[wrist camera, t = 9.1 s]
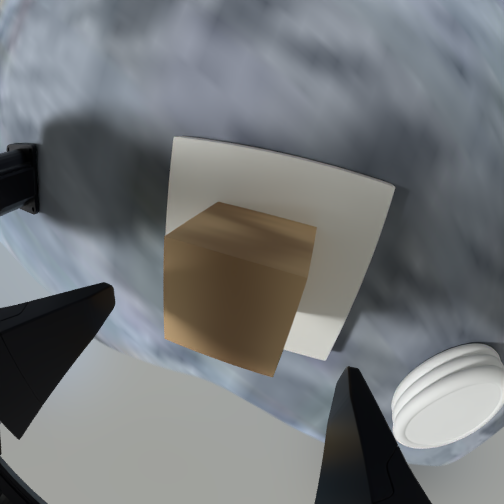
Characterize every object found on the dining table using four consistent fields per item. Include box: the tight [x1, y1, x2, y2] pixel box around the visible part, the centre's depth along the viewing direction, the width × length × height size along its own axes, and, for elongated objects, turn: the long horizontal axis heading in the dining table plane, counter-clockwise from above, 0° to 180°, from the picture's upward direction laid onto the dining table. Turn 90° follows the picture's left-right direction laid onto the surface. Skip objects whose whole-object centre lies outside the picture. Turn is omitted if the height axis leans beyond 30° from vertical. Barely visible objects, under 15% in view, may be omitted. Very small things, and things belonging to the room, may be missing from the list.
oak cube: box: [164, 202, 317, 377], centre depth 12 cm, size 5×5×5 cm
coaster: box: [391, 343, 504, 449], centre depth 14 cm, size 10×10×4 cm
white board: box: [166, 136, 395, 361], centre depth 15 cm, size 11×11×1 cm
